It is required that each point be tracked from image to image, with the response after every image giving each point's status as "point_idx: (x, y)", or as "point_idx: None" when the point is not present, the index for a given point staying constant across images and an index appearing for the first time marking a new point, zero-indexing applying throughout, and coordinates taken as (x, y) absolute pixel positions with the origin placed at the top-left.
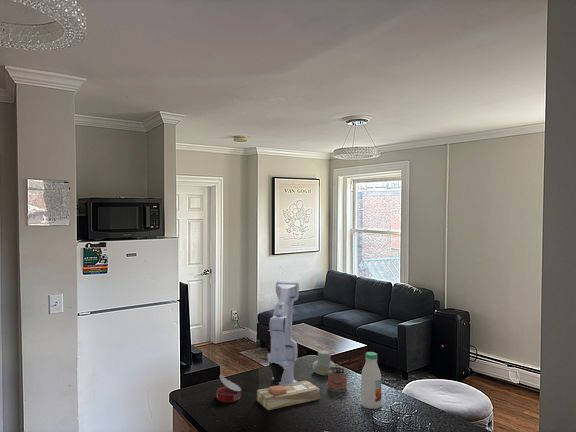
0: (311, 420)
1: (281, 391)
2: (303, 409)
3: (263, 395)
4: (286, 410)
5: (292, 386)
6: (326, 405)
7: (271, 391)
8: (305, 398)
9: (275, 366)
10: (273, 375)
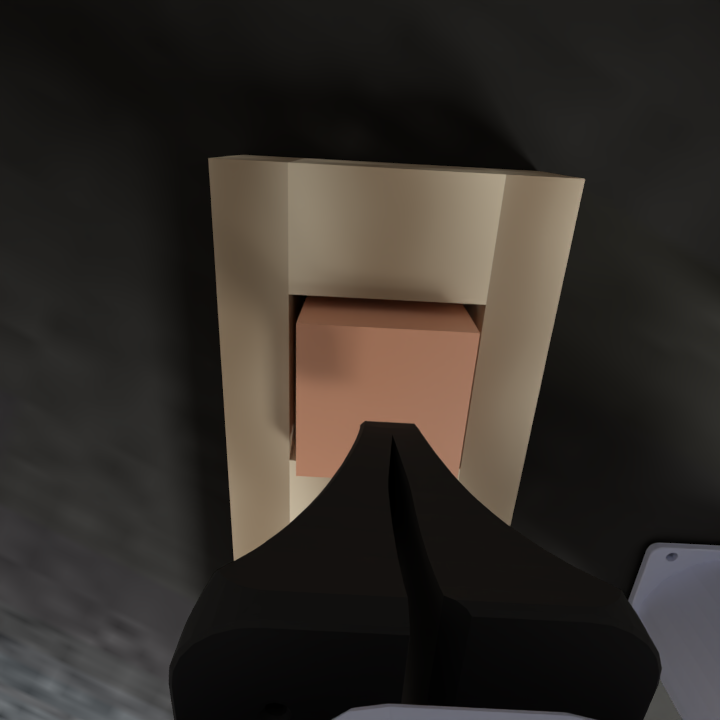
0: None
1: (296, 410)
2: (133, 453)
3: (367, 170)
4: (169, 323)
5: None
6: (136, 613)
7: (392, 317)
8: None
9: (198, 662)
10: (427, 469)
